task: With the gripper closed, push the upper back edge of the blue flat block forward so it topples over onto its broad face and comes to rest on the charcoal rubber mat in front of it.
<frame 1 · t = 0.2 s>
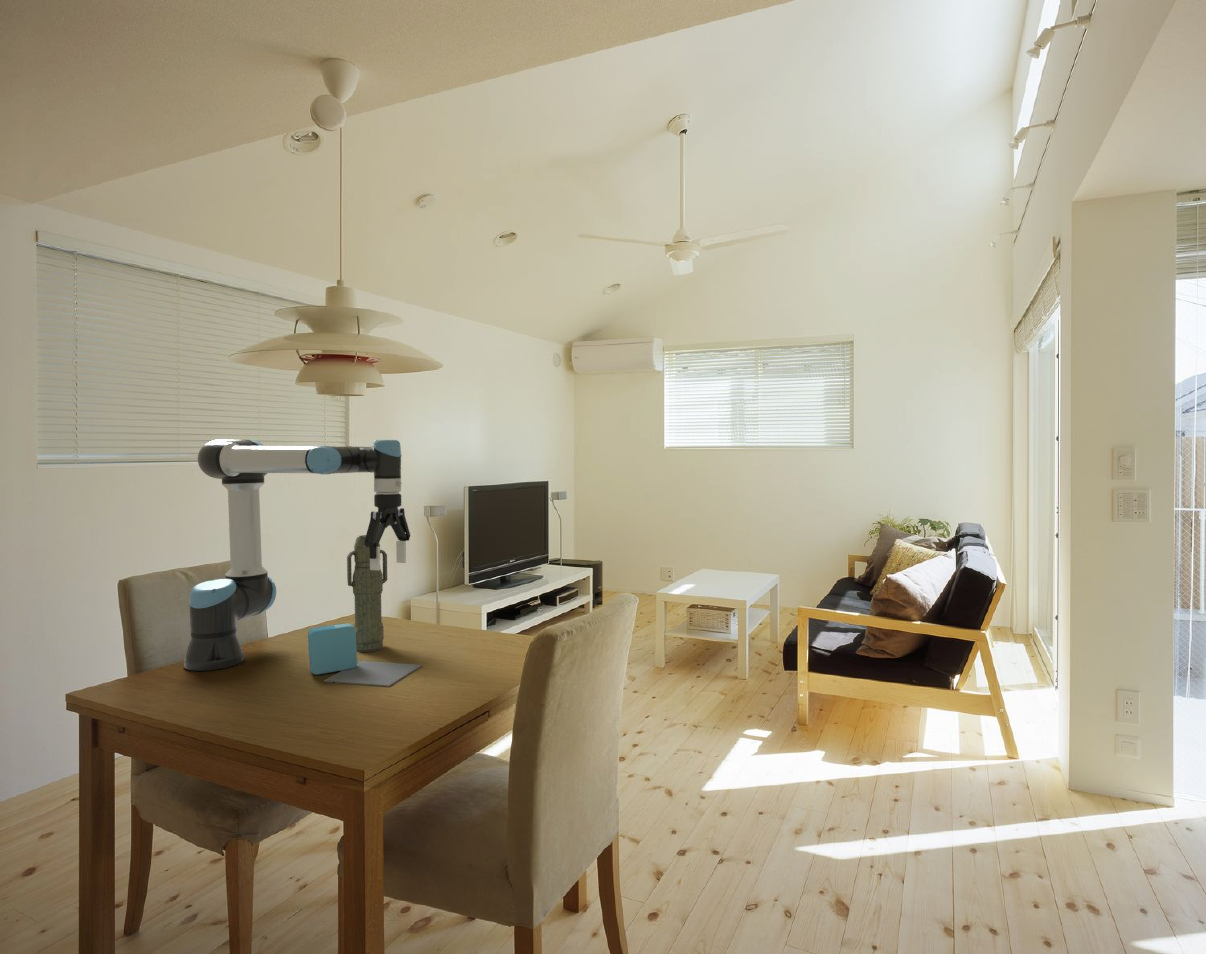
hand: (388, 566, 206), 28 cm above the table, tool pointing down, fingers open, 13 cm apart
thermos: (368, 648, 221), on the table
blue flat block: (333, 670, 198), on the table, touching mat
mat: (374, 673, 195), on the table
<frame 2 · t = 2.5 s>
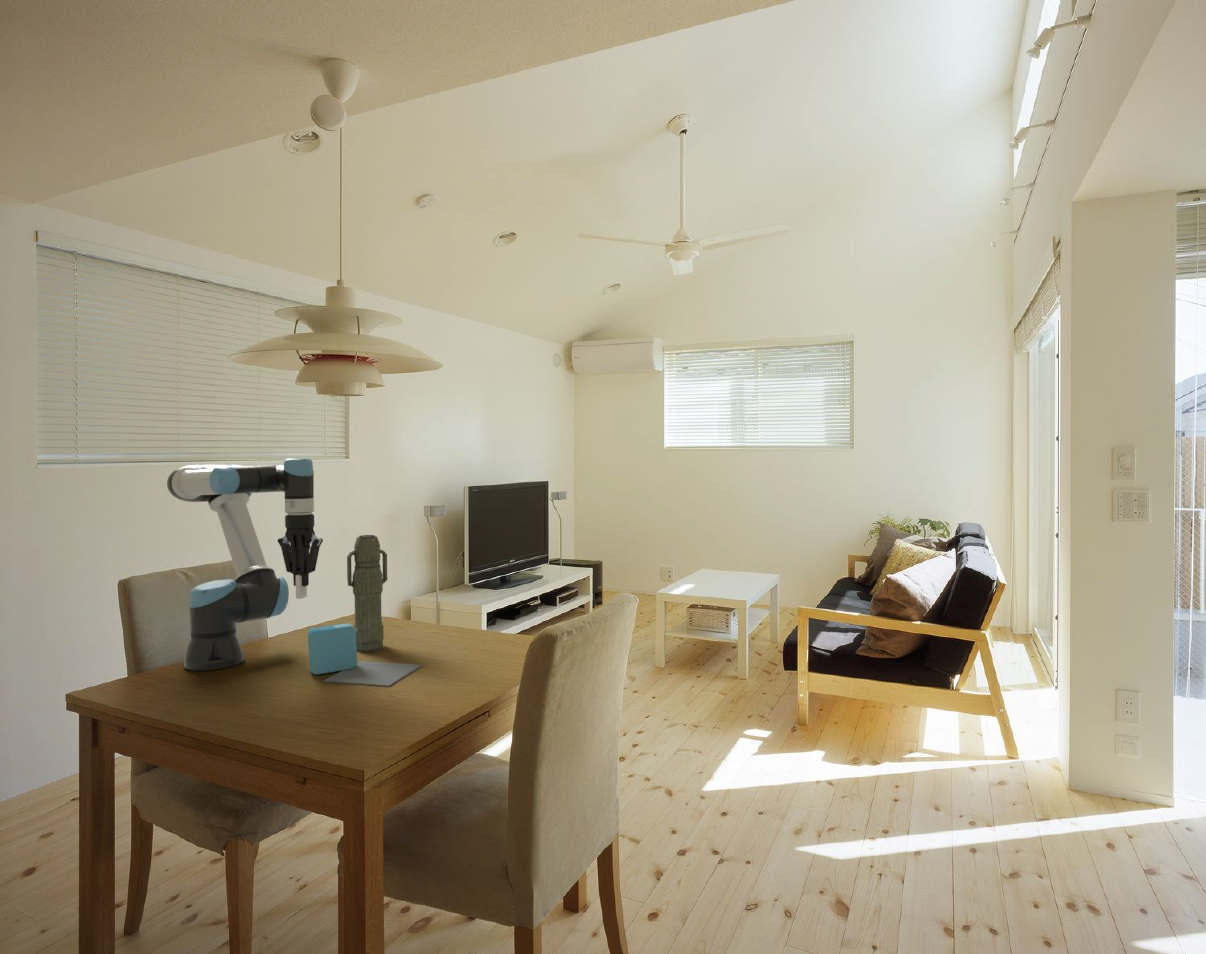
hand: (301, 597, 199), 20 cm above the table, tool pointing down, fingers closed
nothing on the table moved.
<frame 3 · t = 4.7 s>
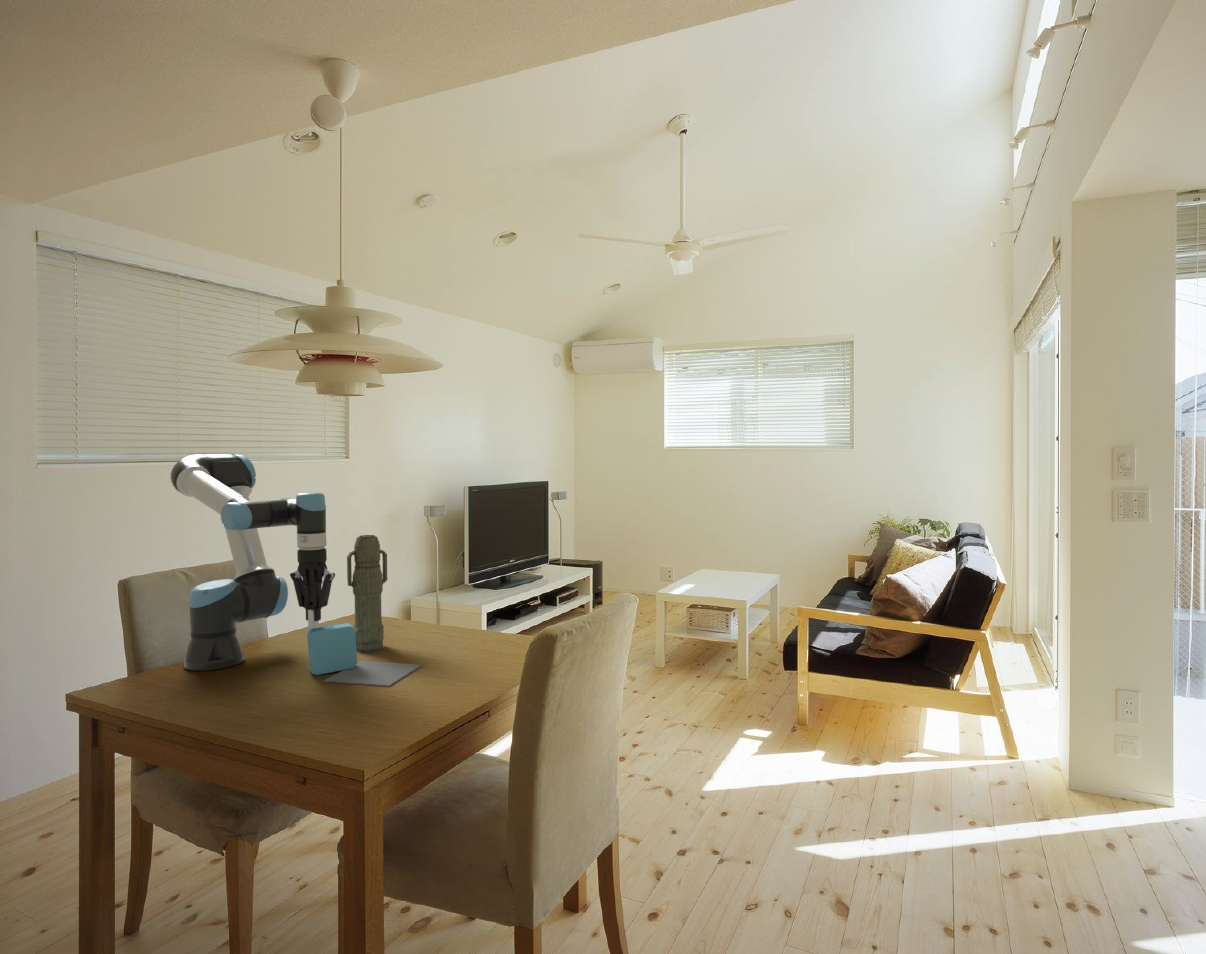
hand: (313, 632, 199), 11 cm above the table, tool pointing down, fingers closed
blue flat block: (333, 670, 198), on the table, touching gripper, mat
everything else where it was.
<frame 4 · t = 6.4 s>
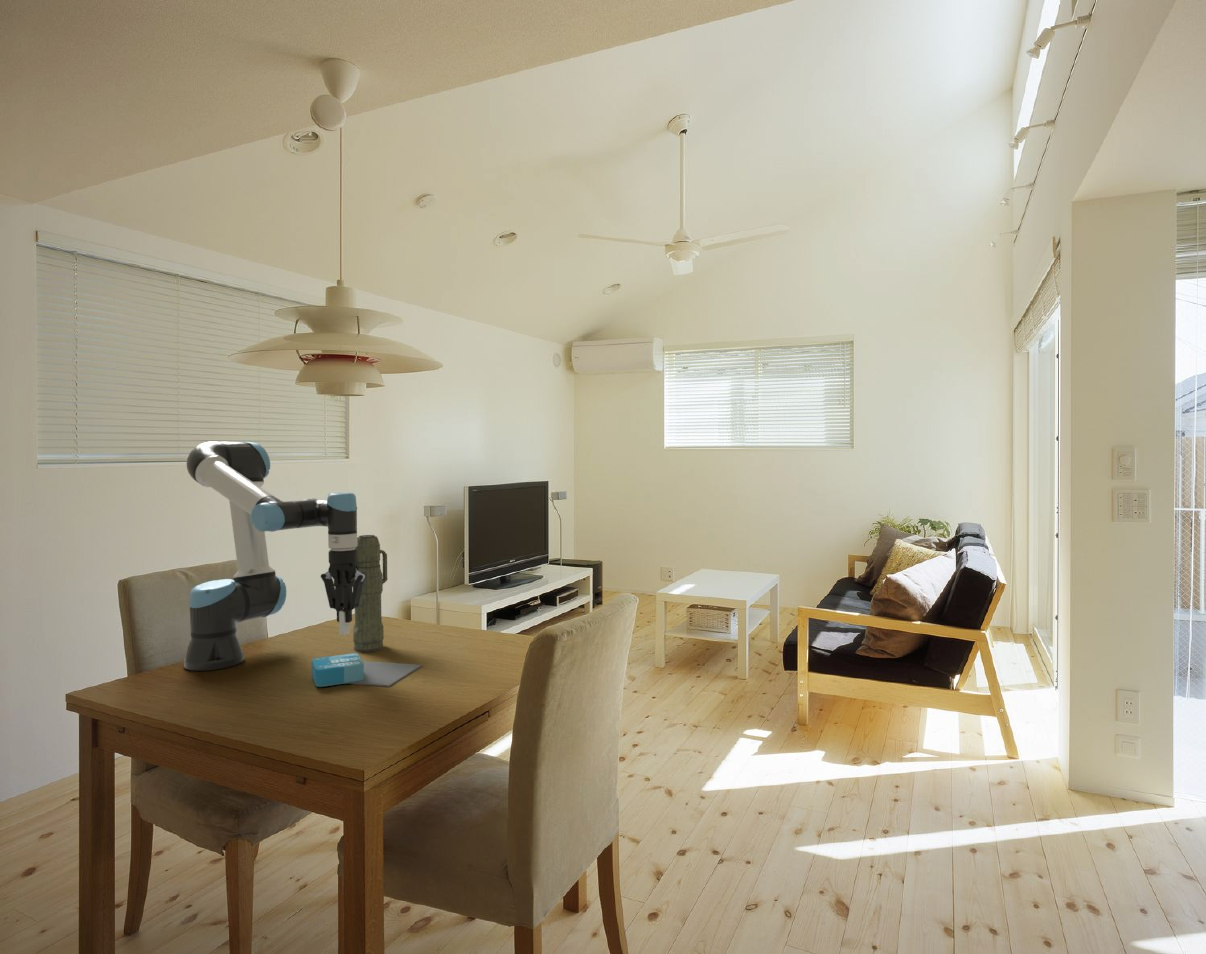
hand: (344, 633, 197), 11 cm above the table, tool pointing down, fingers closed
blue flat block: (334, 663, 196), point 3 cm above the table, touching mat
everything else where it was.
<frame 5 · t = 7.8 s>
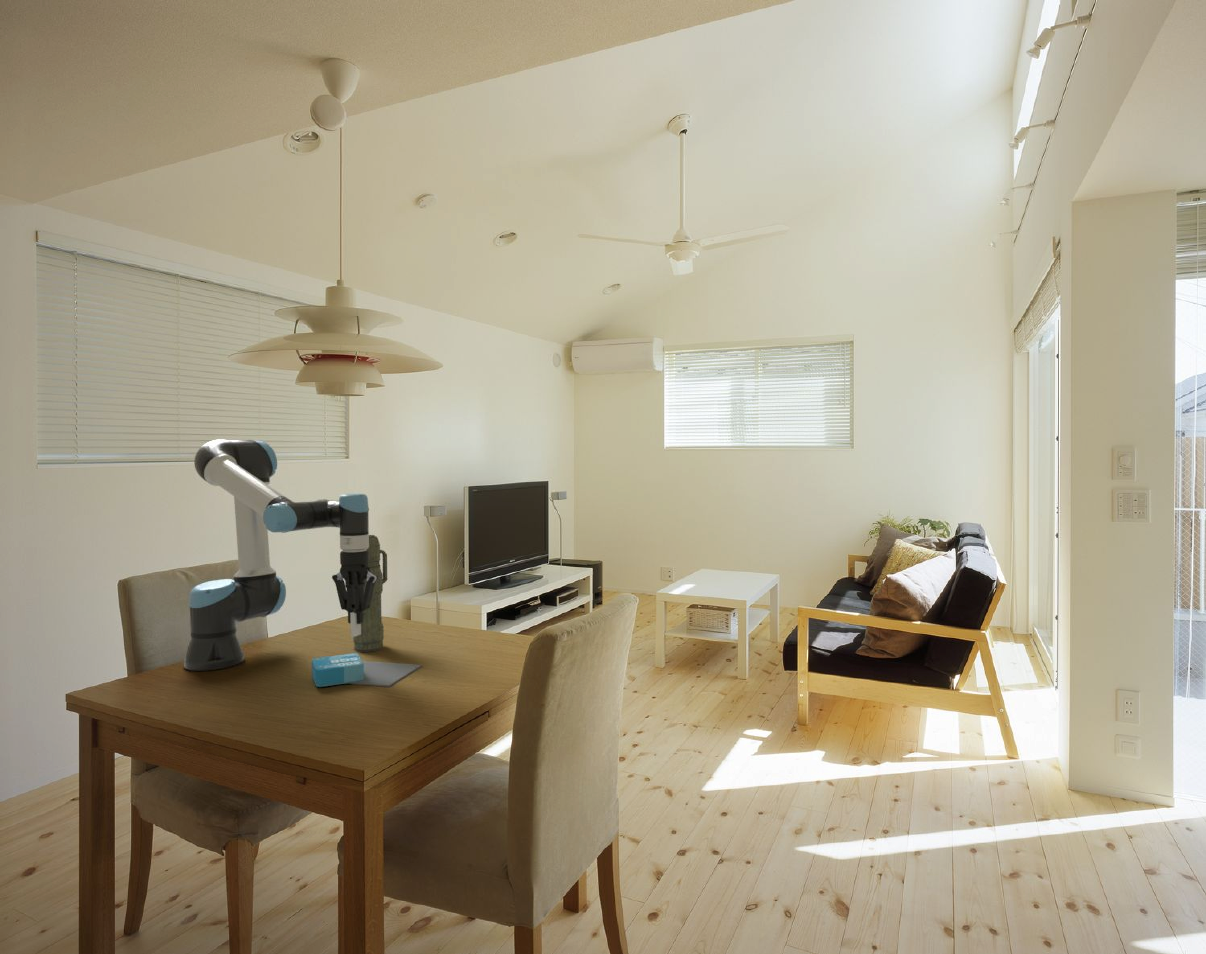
hand: (355, 635, 196), 10 cm above the table, tool pointing down, fingers closed
nothing on the table moved.
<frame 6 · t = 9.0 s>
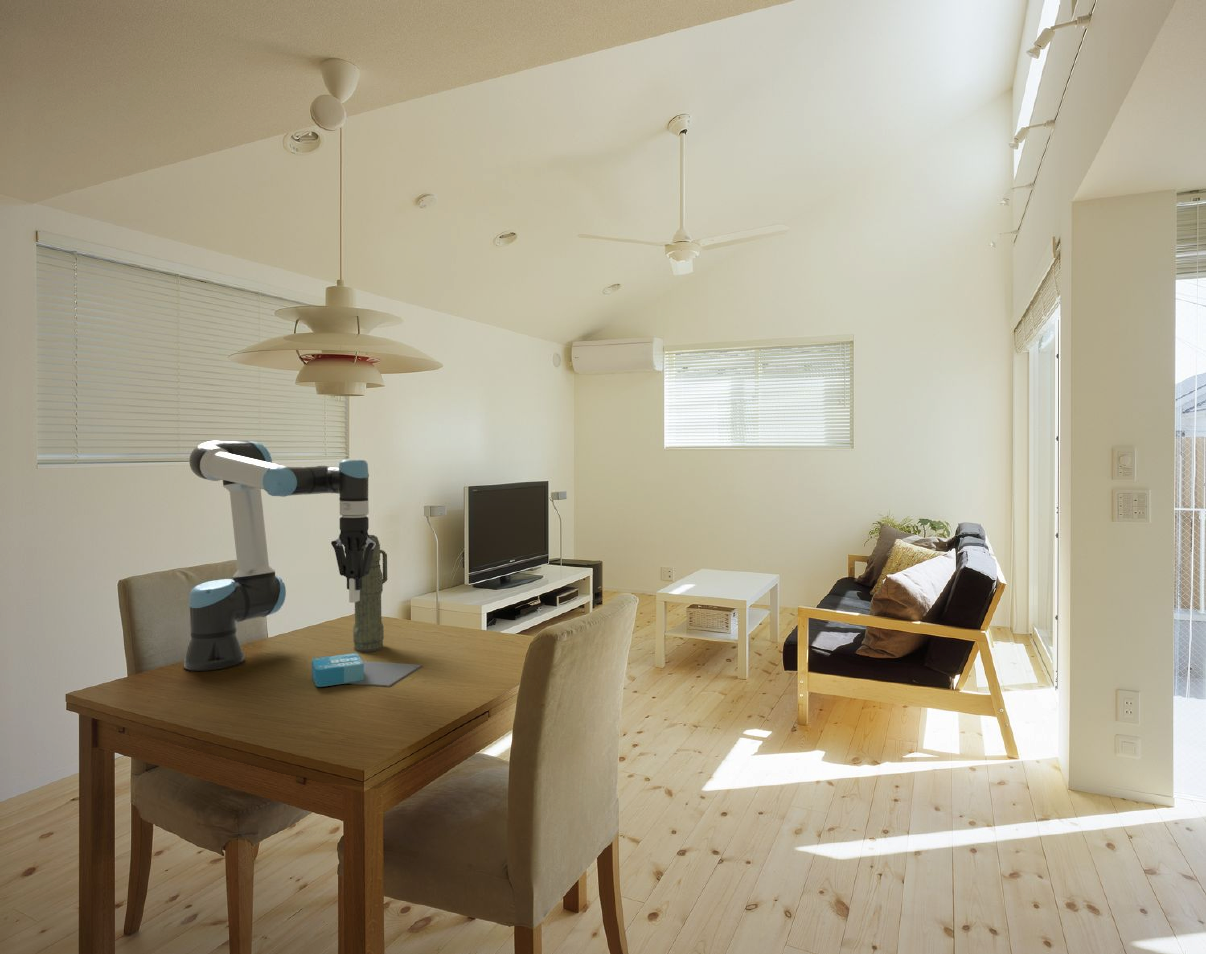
hand: (354, 601, 196), 20 cm above the table, tool pointing down, fingers closed
nothing on the table moved.
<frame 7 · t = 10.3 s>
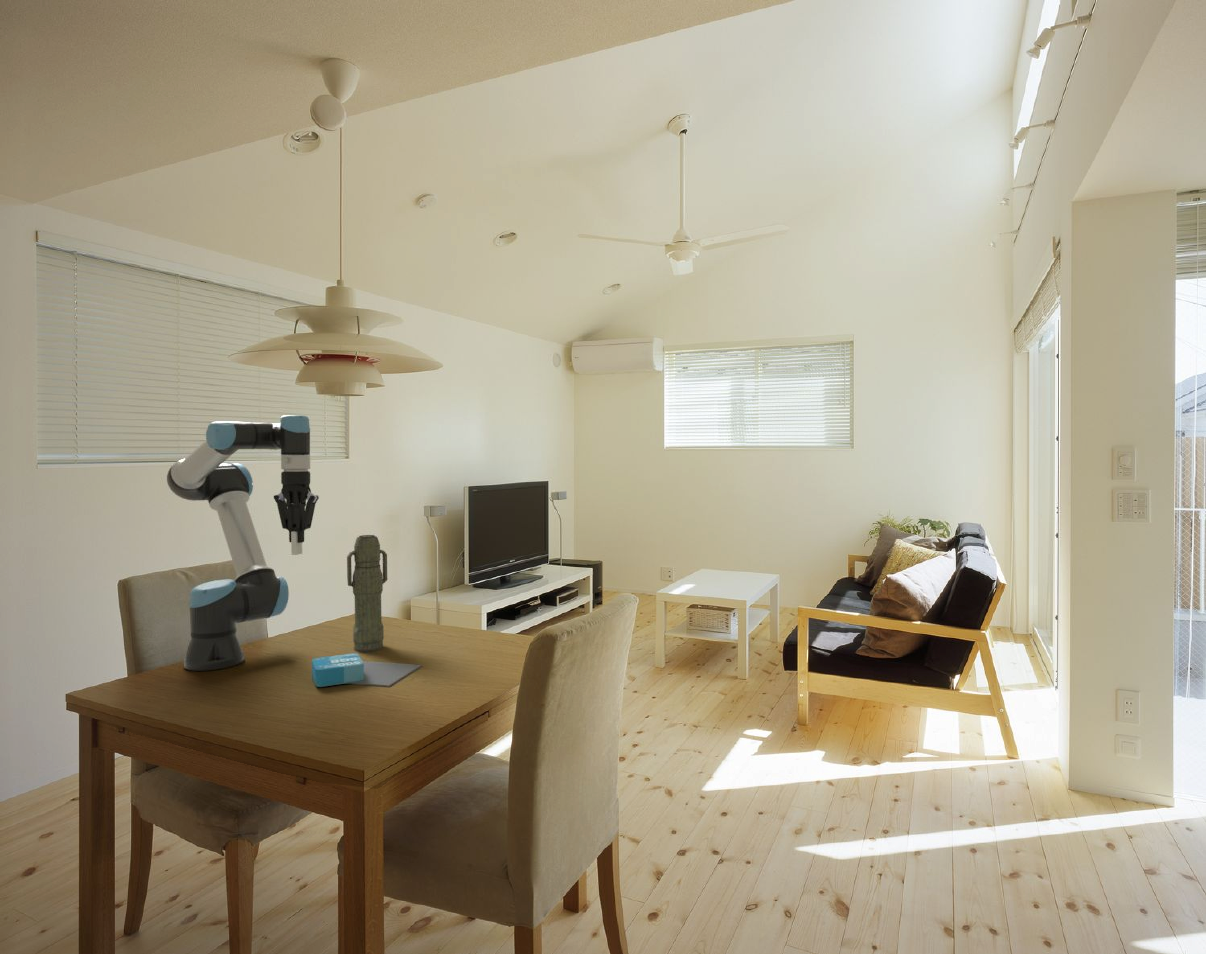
hand: (296, 554, 200), 32 cm above the table, tool pointing down, fingers closed
nothing on the table moved.
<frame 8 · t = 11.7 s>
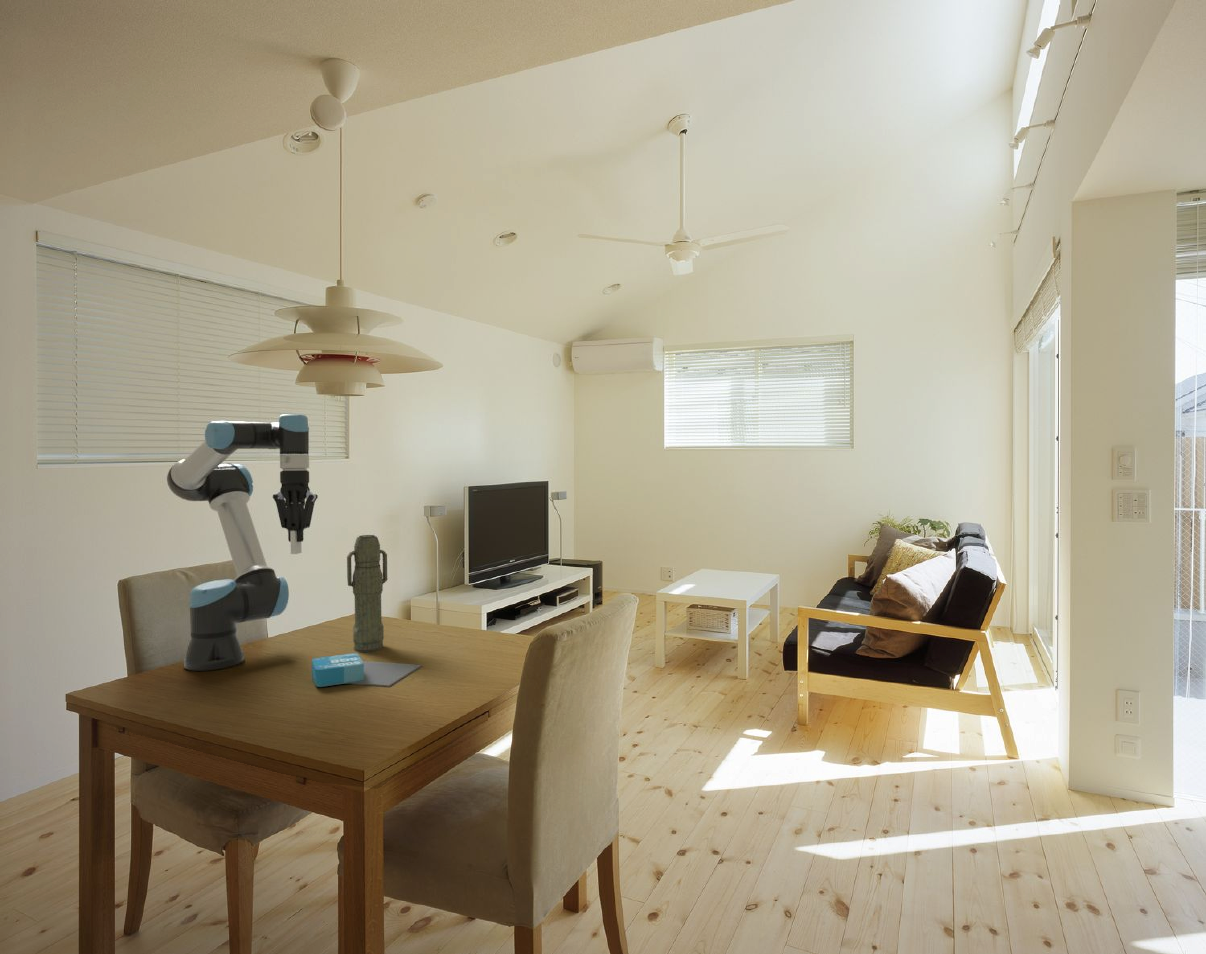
hand: (296, 553, 200), 32 cm above the table, tool pointing down, fingers closed
nothing on the table moved.
at the end: blue flat block tilted 90°; blue flat block touching mat; blue flat block inside the target area (3.9 cm from its centre), point 2.7 cm above the table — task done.
